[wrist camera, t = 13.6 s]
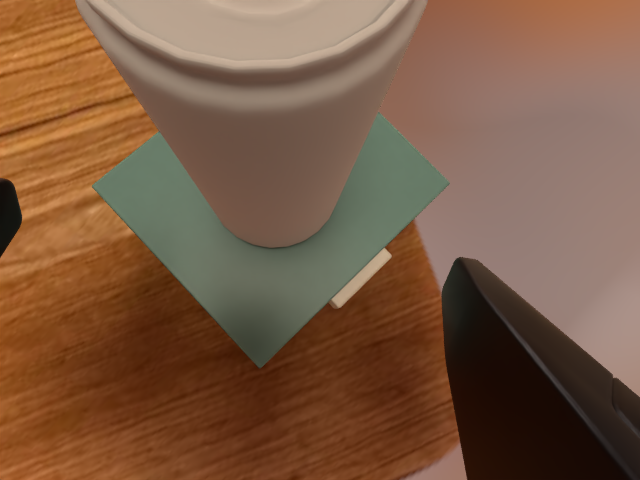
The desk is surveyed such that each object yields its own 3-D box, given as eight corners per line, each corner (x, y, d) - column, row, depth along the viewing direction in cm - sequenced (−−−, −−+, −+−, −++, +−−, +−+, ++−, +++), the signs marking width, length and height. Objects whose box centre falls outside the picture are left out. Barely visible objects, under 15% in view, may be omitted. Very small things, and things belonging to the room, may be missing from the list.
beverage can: (223, 262, 16) (57, 118, 4) (200, 140, 17) (5, -266, 5) (349, 236, 17) (503, 45, 5) (322, 119, 17) (400, -292, 6)
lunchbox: (421, 219, 22) (459, 191, 17) (273, 364, 21) (269, 379, 16) (290, 86, 23) (291, 23, 18) (135, 215, 21) (90, 185, 16)
